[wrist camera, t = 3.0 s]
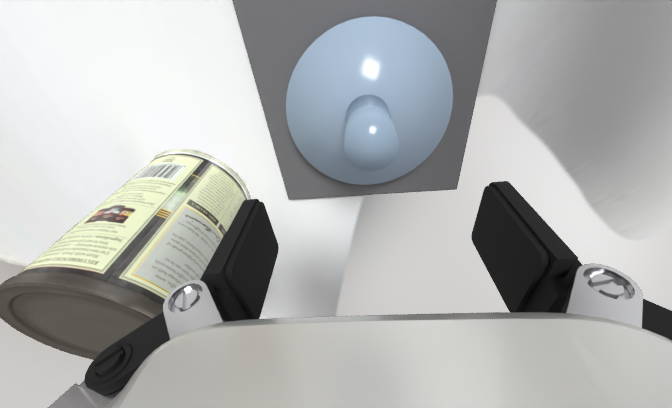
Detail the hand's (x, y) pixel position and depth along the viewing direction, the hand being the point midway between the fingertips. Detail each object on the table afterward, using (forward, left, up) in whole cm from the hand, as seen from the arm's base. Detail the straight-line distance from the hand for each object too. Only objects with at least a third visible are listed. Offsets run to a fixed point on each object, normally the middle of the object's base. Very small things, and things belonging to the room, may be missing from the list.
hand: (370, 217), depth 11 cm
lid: (0, -1, -12) cm, 12 cm away
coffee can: (+17, +6, -12) cm, 22 cm away
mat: (0, -1, -12) cm, 12 cm away
